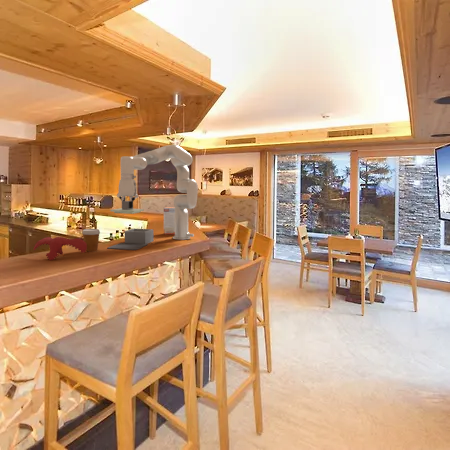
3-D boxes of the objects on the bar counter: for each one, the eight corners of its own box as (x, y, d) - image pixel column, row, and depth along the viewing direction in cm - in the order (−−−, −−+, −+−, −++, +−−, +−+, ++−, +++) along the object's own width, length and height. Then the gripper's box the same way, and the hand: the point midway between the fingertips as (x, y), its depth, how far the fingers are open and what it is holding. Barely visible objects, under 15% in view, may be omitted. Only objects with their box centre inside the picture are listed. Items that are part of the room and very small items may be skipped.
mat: (147, 244, 210) (147, 244, 210) (135, 250, 193) (135, 249, 193) (121, 243, 213) (121, 242, 213) (106, 248, 196) (106, 247, 196)
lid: (143, 212, 207) (143, 201, 206) (133, 214, 192) (133, 202, 191) (122, 211, 209) (121, 200, 208) (110, 213, 195) (110, 201, 194)
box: (153, 240, 226) (153, 229, 225) (145, 244, 212) (145, 232, 211) (134, 239, 228) (134, 228, 227) (124, 243, 214) (124, 231, 213)
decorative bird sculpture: (83, 268, 167) (92, 243, 176) (75, 258, 159) (85, 233, 168) (30, 265, 169) (42, 241, 178) (20, 256, 162) (33, 231, 170)
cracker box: (183, 233, 261) (183, 207, 258) (181, 235, 255) (181, 208, 252) (165, 233, 262) (165, 206, 260) (163, 234, 256) (163, 207, 254)
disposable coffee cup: (99, 252, 185) (99, 230, 184) (81, 252, 183) (80, 231, 181) (101, 248, 194) (100, 228, 193) (83, 249, 192) (83, 228, 190)
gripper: (142, 177, 200) (143, 208, 203) (117, 177, 203) (117, 207, 205) (137, 177, 193) (137, 208, 195) (111, 176, 196) (111, 207, 198)
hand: (127, 207), depth 200 cm, fingers closed on lid, 3 cm apart
